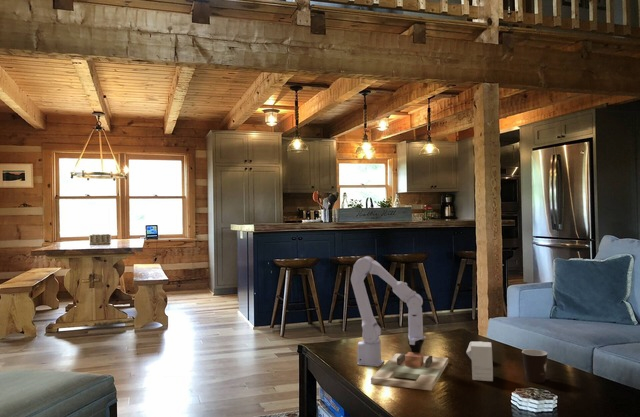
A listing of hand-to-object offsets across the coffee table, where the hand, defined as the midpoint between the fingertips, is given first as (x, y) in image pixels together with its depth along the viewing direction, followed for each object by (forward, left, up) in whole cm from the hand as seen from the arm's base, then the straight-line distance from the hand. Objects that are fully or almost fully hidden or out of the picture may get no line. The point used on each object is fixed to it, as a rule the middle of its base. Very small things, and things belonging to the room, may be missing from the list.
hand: (416, 358), depth 202 cm
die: (+22, +16, -3) cm, 28 cm away
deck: (0, -8, -3) cm, 9 cm away
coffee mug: (+45, -1, -3) cm, 45 cm away
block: (0, -4, -1) cm, 5 cm away
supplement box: (+26, -6, -3) cm, 27 cm away
